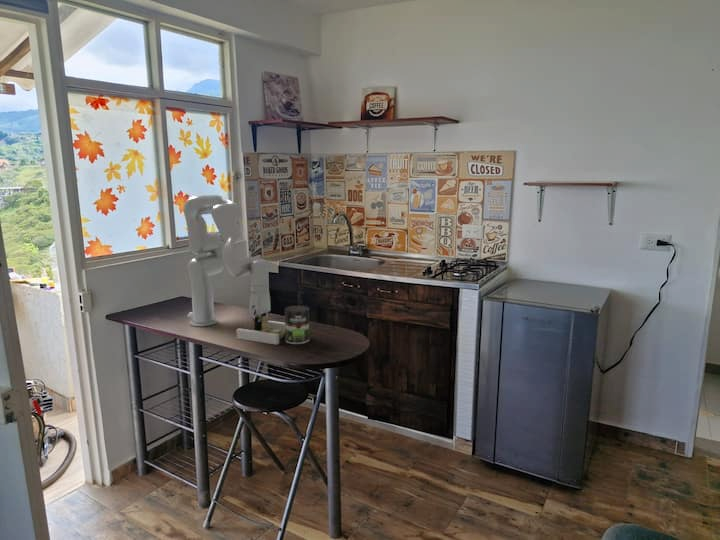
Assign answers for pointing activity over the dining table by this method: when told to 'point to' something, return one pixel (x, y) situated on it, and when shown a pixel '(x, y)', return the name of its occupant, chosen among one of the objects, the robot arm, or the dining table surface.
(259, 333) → the white rectangular posts
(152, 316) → the dining table surface
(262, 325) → the wooden rectangular block
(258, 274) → the robot arm
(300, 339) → the coffee can
